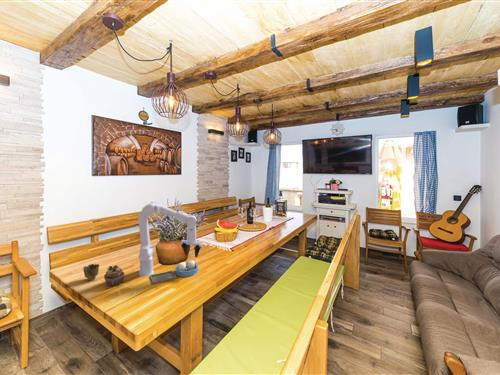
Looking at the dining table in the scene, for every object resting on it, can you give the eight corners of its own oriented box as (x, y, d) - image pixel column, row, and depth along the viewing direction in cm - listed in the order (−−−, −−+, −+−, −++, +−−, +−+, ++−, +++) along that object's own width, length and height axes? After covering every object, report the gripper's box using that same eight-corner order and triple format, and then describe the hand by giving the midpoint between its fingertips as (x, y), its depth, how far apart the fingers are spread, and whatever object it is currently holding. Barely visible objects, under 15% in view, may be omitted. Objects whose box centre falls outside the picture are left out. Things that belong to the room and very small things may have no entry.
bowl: (173, 270, 142) (173, 265, 142) (193, 265, 149) (193, 260, 149) (178, 279, 131) (179, 273, 130) (200, 274, 138) (201, 268, 138)
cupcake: (126, 283, 124) (126, 266, 123) (106, 289, 117) (105, 271, 117) (121, 277, 131) (121, 261, 130) (102, 282, 124) (102, 265, 124)
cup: (94, 275, 132) (94, 262, 132) (102, 278, 129) (101, 265, 128) (80, 280, 126) (80, 267, 125) (88, 284, 122) (87, 270, 122)
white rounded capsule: (177, 272, 137) (177, 264, 137) (182, 269, 141) (182, 261, 141) (182, 274, 135) (182, 265, 135) (187, 271, 139) (187, 263, 139)
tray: (149, 277, 132) (149, 275, 132) (172, 272, 139) (172, 270, 139) (152, 284, 123) (152, 282, 123) (176, 279, 131) (176, 277, 130)
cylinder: (186, 270, 141) (186, 261, 141) (191, 267, 144) (191, 259, 144) (190, 272, 138) (190, 263, 138) (196, 270, 142) (196, 261, 141)
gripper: (178, 235, 138) (177, 256, 139) (197, 238, 133) (197, 259, 134) (185, 232, 145) (184, 252, 146) (204, 235, 140) (203, 255, 141)
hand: (191, 255), depth 141 cm, fingers open, 7 cm apart
